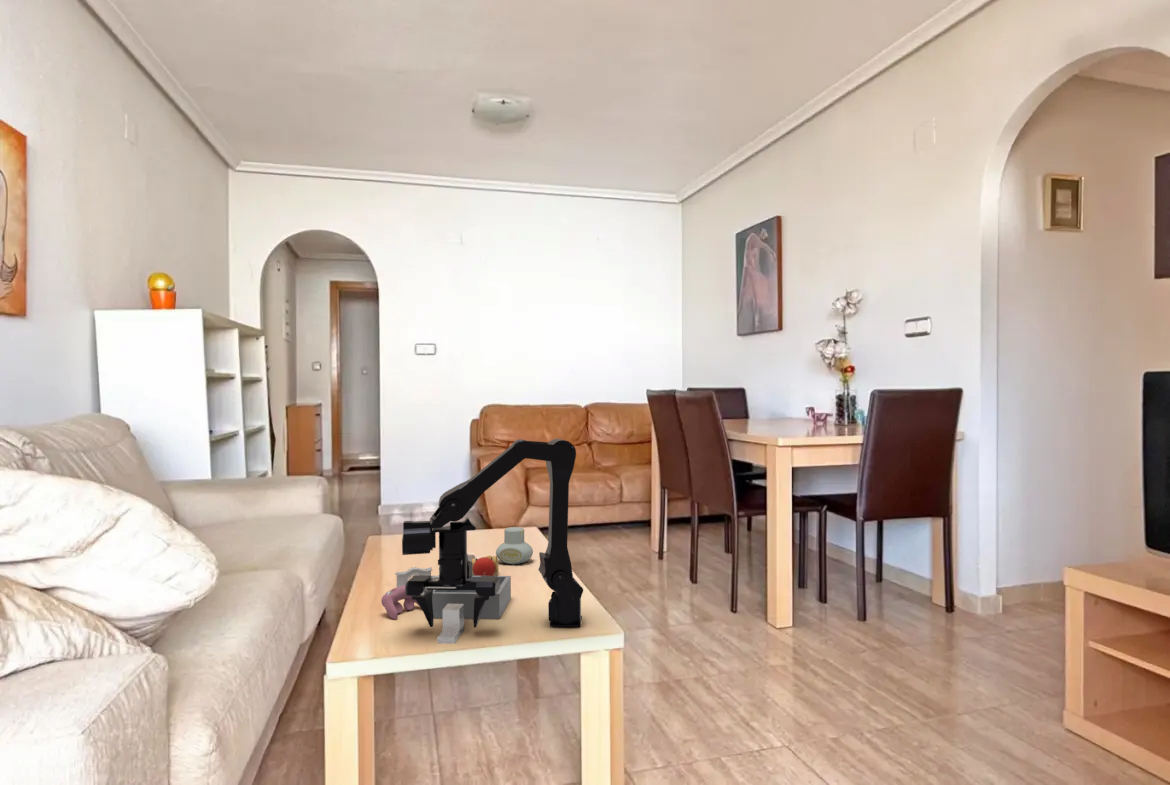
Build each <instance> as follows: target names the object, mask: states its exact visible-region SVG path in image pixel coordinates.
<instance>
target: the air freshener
mask: <svg viewBox="0 0 1170 785" xmlns="http://www.w3.org/2000/svg"><path fill="white" fill-rule="evenodd" d="M503 534H504V539H503V540H504V542H503V543H501V544H499V545H498V547H497V548H496V550H495V556H497V559H498V561H500V562H502V563H503V564H506V563H507V564H506V565H509V564H517V565H520V563H521V564H524V563H526V562H527V561H529V560H530V559H531V558H532V556H533V553H534V549H533V547H532V546H531V545H530V544H529V543H528V542H525V529H524V528H523V527H520V526H511V527H506V528H505V529H504V533H503Z"/></svg>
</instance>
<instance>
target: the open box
mask: <svg viewBox="0 0 1170 785" xmlns="http://www.w3.org/2000/svg"><path fill="white" fill-rule="evenodd" d="M496 576H497V577H498V578H499V580H500V589H499V591H498V592H497V594H496V595H495V596H491V597H490V599H489V600H485V603H484V605H483V608H482V611H481V614H480V617H479V620H481V619H482V620H500V619H501V617H502V615H503V614H504V612H505V610H506V608H507V606H508V604H509V603H510V601H511V598H512V585H511V584H512V583H511V581H512V580H511V579H512V578H511V577H512V576H511V575H496ZM480 577H481V576H474V575H472V577H471V578H469V579H467V581H478V579H479V578H480ZM444 586H450V585H444ZM456 586H463V585H456ZM476 595H477V593H476V590H433V595H432V604H433V616H434V619H443V608H444V607H445V606H446V605H447V604H464V620H465V619H468V620H469V619H471V620H473V618H474V599H475V597H476Z"/></svg>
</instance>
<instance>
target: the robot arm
mask: <svg viewBox="0 0 1170 785" xmlns="http://www.w3.org/2000/svg"><path fill="white" fill-rule="evenodd" d="M576 458H577V449H576V447H575V446H574V445H573V443H572V442H570V441H568V440H566V439H562V438H553V439H551V440H549V442H548V441H547V442H546V441H538V440H537V441H536V440H525V439H521V438H520V439H515V440H514V441H513V442H512V443H511V445H510V446H508V447H507V448H506V449H505V450H504V451H502V452H501V453H499V455H498V456H496V457H495V458H494V459H493V460H492V461H490V462H489V463H488V464H487V465H485V466H484V467H483V468H481V470H479V471H478V472H477V473H475V475H473V476H472V477H471V478H469V479H468V480H465V481H463V482H461V483H459V484H457V485H455V486H454V487H451V488H450V489H448V490H446V491H445V492H444V493H442V494H441V496H440V497H439V498H438V499H439V500H438V507H437V509H436V510H435V511H434V513H433V514H431V517H430V518H429V520H419V521H417V520H416V521H412V520H404V521H403V526H402V528H403V530H402V533H403V534H402V537H401V538H402V539H401V543H402V544H401V549H402V550H401V552H402V556H408V555H410V556H411V555H425V554H426V555H428V554H431V551H434V550H433V549H436V547H437V546H436V545H437V541H436V533H438V559H437V566H438V575H439V580H432V578H431V576H432V575H431V576H428V575H415V576H414V575H413V576H414V577H413V578H412V577H410V578H409V581H408V582H407V583H406V586H405V595H407V596H412V599H413V600H416V601H417V602H418V604H419V605H418V604H417V605H418V606H419V608H420V610H422V612H423V614H424V616H425V619H426V620H427V623H428V625H429V628H433V627H434V620H435V618H434V616H433V604H432V595H433V590H476V593H477V595H476V597H475V599H474V618H473V619H472V620H473V622H472V623H473V628H475V629H476V628H477V626H478V624H479V620H480V619H479V617H480V614H481V611H482V608H483V605H484V603H485V600H489V599H490V597H491V596H495V595H496V594H497V592H498V591H499V589H500V580H499V578H498V577H497V576H498V575H493V576H481V577H480V578H479V579H478V581H467V579H469V578H471V577H472V576H473V572H472V566H473V563H472V561H470V560H469V556H468V544H467V543H468V539H467V538H468V534H467V533H468V532H467V531H475V530H477V526H476V525H475V523H474V522H472V521H471V520H470V518H469V517H467V514H468V513H469V511H470V510H471V509H472V508H473V507H474V505H475V504H476V503H477V501H478V500H479V498H480V497H481V496H482V495H483V494H484V493H485V492H486V491H487V490H488V489H490V488H491V487H492V486H493V485H494V484H496V483H497V482H498V481H499V480H501V479H502V478H503V477H504V476H506V474H509V472H510V471H511V470H512V469H514V468H515V467H516V466H517V465H519V464H520V463H521V462H523V460H525V459H528V460H529V459H530V460H535V461H536V460H538V461H544V462H545V466H546V469H547V473H548V478H549V499H548V500H549V501H548V502H549V504H548V534H547V535H548V537H547V538H548V542H547V546H546V547H547V548H546V550H545V552H543V551H542V552H541V551H539V552H538V553H539V567H538V569H537V570H538V572H539V573H540V574H541V577H542V578H543V580H544V582H545V584H546V586H548V587H549V589H551V591H552V592H551V595H550V599H549V600H548V604H547V608H548V610H547V611H548V622H549V626H550V627H551V628H562V627H563V628H580V627H581V625H582V620H583V615H582V595H583V593H584V588H583V586H581V584H580V583H579V582H578V580H576V579H575V578H574V575H573V570H572V569H573V568H572V561H571V557H570V552H569V550H568V536H569V535H568V534H569V532H568V530H569V495H570V494H569V492H570V488H569V487H570V485H569V484H570V480H571V478H572V474H573V471H574V470H575V469H574V467H575V464H576ZM465 516H466V518H465ZM463 518H465V519H464V520H463V521H460V520H461V519H463ZM448 523H449V525H447V524H448ZM445 525H446V526H445ZM444 585H450V586H444ZM456 585H463V586H456Z"/></svg>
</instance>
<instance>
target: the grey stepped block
mask: <svg viewBox="0 0 1170 785" xmlns="http://www.w3.org/2000/svg"><path fill="white" fill-rule="evenodd" d="M464 631H465V619H464V604H447V605H446V606H445V607H444V608H443V618H442V630H441V632H440V633H439V635H438V636H437V637H436V639H437V640H436V643H437V644H447V645H448V644H454V645H455V644H456V642H457V641H458V640H459V637H460V636H461V635H462V633H463V632H464Z"/></svg>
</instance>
